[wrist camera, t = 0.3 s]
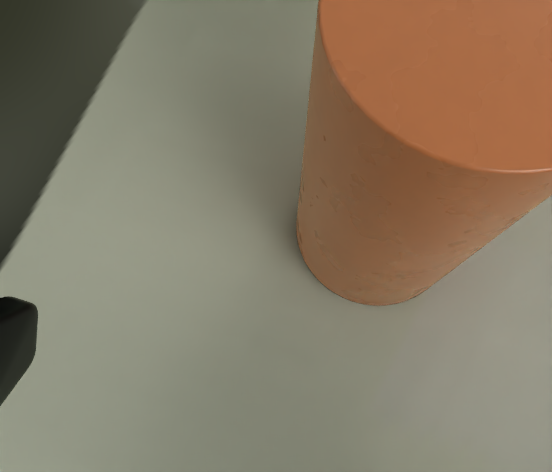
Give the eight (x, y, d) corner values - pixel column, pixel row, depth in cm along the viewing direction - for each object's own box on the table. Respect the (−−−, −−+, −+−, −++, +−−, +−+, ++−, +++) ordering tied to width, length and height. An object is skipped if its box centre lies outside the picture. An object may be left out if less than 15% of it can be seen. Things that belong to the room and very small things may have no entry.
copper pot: (431, 327, 21) (651, 222, 9) (275, 276, 22) (270, 110, 9) (482, 124, 24) (704, -177, 11) (341, 84, 24) (406, -242, 12)
